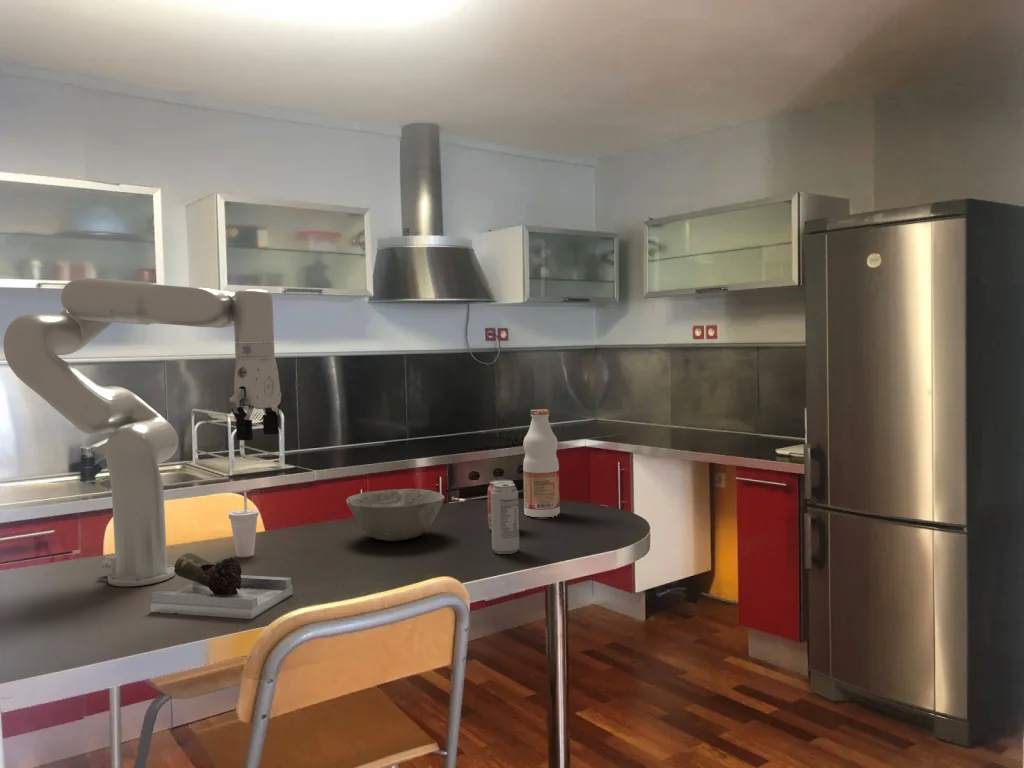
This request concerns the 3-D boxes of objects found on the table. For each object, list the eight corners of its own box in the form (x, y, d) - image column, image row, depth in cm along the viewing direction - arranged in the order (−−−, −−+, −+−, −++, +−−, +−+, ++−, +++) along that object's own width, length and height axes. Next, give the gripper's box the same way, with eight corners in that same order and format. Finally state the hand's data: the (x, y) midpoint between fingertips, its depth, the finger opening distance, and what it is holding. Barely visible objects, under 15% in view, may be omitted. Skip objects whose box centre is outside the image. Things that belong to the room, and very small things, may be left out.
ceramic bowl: (452, 545, 189) (450, 502, 189) (349, 554, 184) (348, 509, 183) (437, 524, 211) (436, 486, 210) (345, 531, 205) (344, 491, 205)
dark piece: (175, 580, 156) (170, 552, 155) (208, 567, 161) (204, 540, 160) (223, 606, 145) (219, 576, 144) (257, 591, 150) (253, 562, 148)
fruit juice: (516, 515, 219) (514, 410, 217) (540, 510, 226) (538, 407, 224) (543, 520, 212) (541, 412, 211) (567, 514, 219) (565, 409, 218)
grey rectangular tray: (151, 611, 147) (150, 594, 146) (199, 588, 160) (198, 572, 160) (251, 618, 142) (250, 600, 142) (292, 593, 155) (291, 577, 155)
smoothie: (265, 554, 185) (263, 492, 184) (239, 560, 180) (236, 496, 179) (251, 549, 189) (248, 489, 188) (224, 555, 184) (222, 493, 184)
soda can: (522, 528, 204) (521, 480, 203) (506, 534, 198) (505, 485, 198) (498, 525, 208) (497, 478, 207) (482, 531, 202) (481, 482, 201)
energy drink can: (511, 547, 186) (510, 481, 185) (524, 553, 181) (522, 485, 180) (487, 550, 184) (485, 483, 183) (499, 557, 178) (498, 488, 177)
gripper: (247, 352, 156) (251, 442, 157) (293, 350, 173) (296, 432, 174) (212, 353, 158) (216, 442, 159) (261, 351, 175) (264, 432, 176)
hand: (258, 437), depth 166 cm, fingers open, 9 cm apart
